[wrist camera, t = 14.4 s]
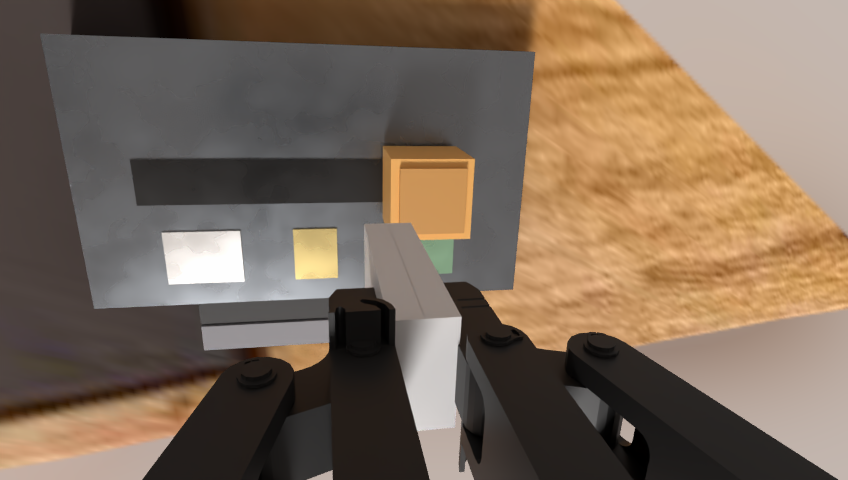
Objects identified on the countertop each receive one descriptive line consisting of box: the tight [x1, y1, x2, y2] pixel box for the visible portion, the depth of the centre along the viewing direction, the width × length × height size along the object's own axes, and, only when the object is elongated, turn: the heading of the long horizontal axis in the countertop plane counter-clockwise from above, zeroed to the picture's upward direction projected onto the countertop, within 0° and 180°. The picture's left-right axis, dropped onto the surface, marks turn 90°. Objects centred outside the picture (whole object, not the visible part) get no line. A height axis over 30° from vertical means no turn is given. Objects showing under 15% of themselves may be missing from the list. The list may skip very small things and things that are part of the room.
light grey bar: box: [201, 317, 329, 350], centre depth 33 cm, size 14×2×2 cm, turn 88°
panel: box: [40, 34, 535, 309], centre depth 29 cm, size 24×14×3 cm, turn 88°
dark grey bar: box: [199, 298, 329, 324], centre depth 33 cm, size 14×2×2 cm, turn 88°
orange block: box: [383, 146, 475, 240], centre depth 26 cm, size 4×4×4 cm
